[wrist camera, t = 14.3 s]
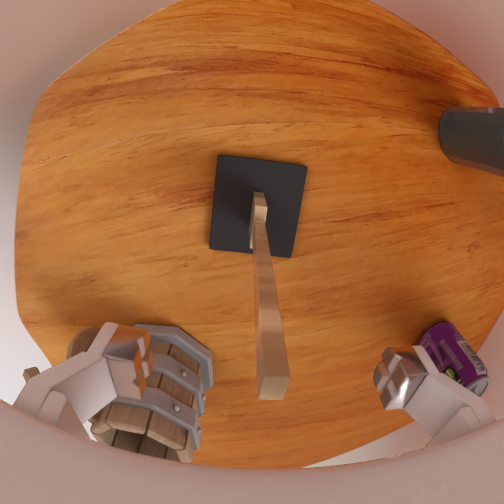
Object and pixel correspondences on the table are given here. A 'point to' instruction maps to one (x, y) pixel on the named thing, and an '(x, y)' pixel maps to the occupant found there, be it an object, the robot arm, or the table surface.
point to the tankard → (156, 397)
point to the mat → (241, 198)
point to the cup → (474, 137)
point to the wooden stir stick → (266, 310)
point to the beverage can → (455, 357)
